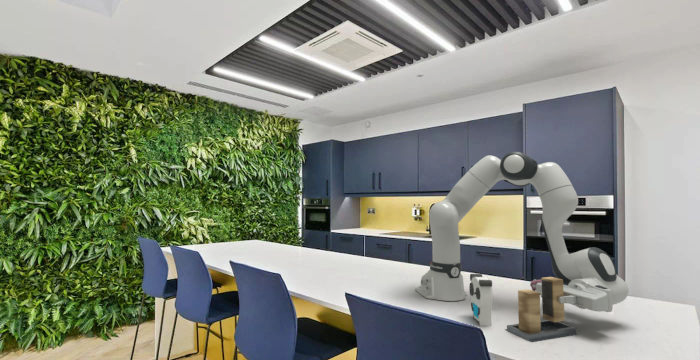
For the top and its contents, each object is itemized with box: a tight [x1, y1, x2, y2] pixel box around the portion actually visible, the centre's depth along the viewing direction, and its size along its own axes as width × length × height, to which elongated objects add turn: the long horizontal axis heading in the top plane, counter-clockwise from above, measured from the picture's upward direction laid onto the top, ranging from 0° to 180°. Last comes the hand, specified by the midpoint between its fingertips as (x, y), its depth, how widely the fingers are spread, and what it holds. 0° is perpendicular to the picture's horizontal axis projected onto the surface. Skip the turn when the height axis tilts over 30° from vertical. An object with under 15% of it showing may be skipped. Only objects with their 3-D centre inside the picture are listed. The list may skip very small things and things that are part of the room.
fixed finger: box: [517, 288, 541, 333], centre depth 102 cm, size 4×4×12 cm
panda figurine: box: [469, 273, 494, 327], centre depth 112 cm, size 12×11×15 cm
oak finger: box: [541, 276, 565, 322], centre depth 105 cm, size 4×4×12 cm
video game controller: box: [529, 278, 542, 291], centre depth 151 cm, size 10×5×7 cm, turn 48°
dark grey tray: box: [504, 319, 580, 343], centre depth 103 cm, size 10×18×2 cm, turn 110°
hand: (550, 297), depth 105 cm, fingers closed on oak finger, 4 cm apart
